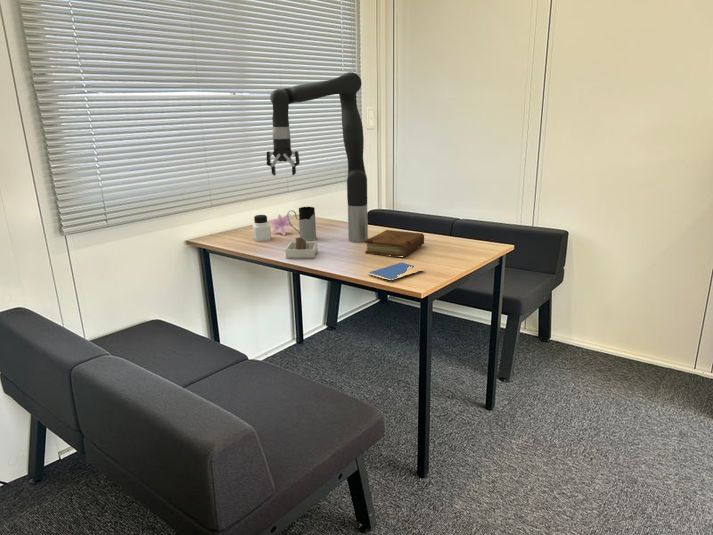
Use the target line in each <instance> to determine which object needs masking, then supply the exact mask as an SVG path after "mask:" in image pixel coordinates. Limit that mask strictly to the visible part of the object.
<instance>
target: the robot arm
mask: <svg viewBox="0 0 713 535" xmlns="http://www.w3.org/2000/svg"><path fill="white" fill-rule="evenodd" d="M361 87H362V79H361V77H360V75H358V74H357V73H355V72H353V71H348V72H345V73H343V74H341V75H340V76H338V77H334V78H330V79H327V80H321V81H314V82H313V81H312V82H307V83H301V84H297V85H294V86H291V87H283V88H277V89H274V90H272V92H271V93H270V95H269V96H270V98H269V99H270V102H271V104H272V118H271V119H272V121H271V122H272V147H273V151H270V150H269V151H266V166H269V167H271V174H272V175H273V177H274V176H277V175H276V174H277V173H276V171H277V170H276V164H277V163H278V162H279V163H280V162H288V163H289V164H290V165H291V173H292V176H295V174H296V172H297V166H299V165H300V164H301V162H300V154H299V153H300V152H299V151H298V150H296V151H292V145H291V144H292V143H291V130H290V117H289V108H290V106H289V105H291V104H295V103H303V102H309V101H313V100H317V99H321V98H325V97H328V96H333V95H339V100H340V102H339V103H340V108H341V109H340V110H341V127H342V129H341V130H342V139H343V145H344V149H345V154H346V159H347V179H346V192H347V193H346V194H347V195H346V198H347V223H348V224H347V232H348V233H347V234H348V238H347V239H348V241H349V242H350V241H351V243H365V242H364V241H366V240H368V239H369V236H368V234H369V230H368V229H369V228H368V227H369V226H368V225H369V224H368V223H369V220H368V177H367V174H366V168H365V162H364V147H365V146H364V142H365V140H364V137H365V136H364V126H363V123H362V122H363V121H362V118H361V115H360V112H359V109H358V103H357V93H358V92H359V91H360V90H361ZM292 155H293V157H295V161H294V160H293V159H292ZM272 156H274V159H273V161H272V162H271V159H272V158H271V157H272Z"/></svg>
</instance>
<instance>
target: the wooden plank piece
mask: <svg viewBox="0 0 713 535" xmlns="http://www.w3.org/2000/svg"><path fill="white" fill-rule="evenodd" d="M295 242H296V249H305V247H306V242H307V241H305V240H304V239H303V238H300V237H296V238H295Z"/></svg>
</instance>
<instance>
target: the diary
mask: <svg viewBox="0 0 713 535" xmlns="http://www.w3.org/2000/svg"><path fill="white" fill-rule="evenodd" d="M364 243H365V244H366V250H365V252H366V253H365V254H368V253H374V254H373V255H376V254H382V255H381V256H384V255H391V256H390V257H392V256H403V257H404V258H405V256H406V255H407V256H409V255H410V254H412V253H413V252H415V251H416V250H418V249H419V248H420V246H421V245H422V244H423V245H425V235H424V233H421V232H409V231H402V230H401V231H400V230H392V229H391V230H390V229H386V230H384V231H382V232H379V233H378V234H376V235H374V236H372V237H370V238H368V240H366V241H365V242H364ZM423 245H422V246H423ZM422 246H421V247H422ZM418 247H419V248H418ZM417 248H418V249H417ZM415 249H416V250H415ZM414 250H415V251H414ZM412 251H413V252H412ZM411 252H412V253H411ZM409 253H410V254H409ZM408 254H409V255H408ZM407 256H406V257H407Z"/></svg>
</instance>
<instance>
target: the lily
mask: <svg viewBox="0 0 713 535" xmlns="http://www.w3.org/2000/svg"><path fill="white" fill-rule="evenodd" d="M291 216H292V213H288V217H289V220H290V219H291ZM288 217H287V214H286V215H284V216H282V215H281V214H280V213H278V215H277V219H273V220H269V222H268V223H269V225H270V226H273V227H274V228H273V231H272V234H276V233H278V232H280V233H281V235H283V236H286V234H287V228H291V227H292V226H293V227H294V225H293V224H292V226H291V225H290V223H291V222H290V223H289V221H288ZM293 227H292V228H293Z"/></svg>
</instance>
